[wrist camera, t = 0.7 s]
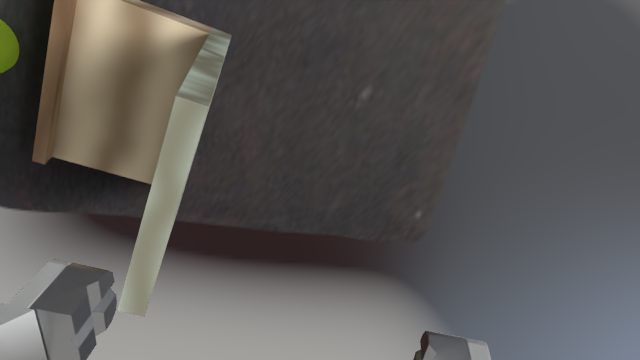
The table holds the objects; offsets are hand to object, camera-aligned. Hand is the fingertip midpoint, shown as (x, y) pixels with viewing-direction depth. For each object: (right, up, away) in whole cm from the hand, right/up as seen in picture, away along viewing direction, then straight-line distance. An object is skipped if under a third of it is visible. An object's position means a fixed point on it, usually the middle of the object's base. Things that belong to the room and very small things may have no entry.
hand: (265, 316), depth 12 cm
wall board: (-18, +13, +37) cm, 43 cm away
